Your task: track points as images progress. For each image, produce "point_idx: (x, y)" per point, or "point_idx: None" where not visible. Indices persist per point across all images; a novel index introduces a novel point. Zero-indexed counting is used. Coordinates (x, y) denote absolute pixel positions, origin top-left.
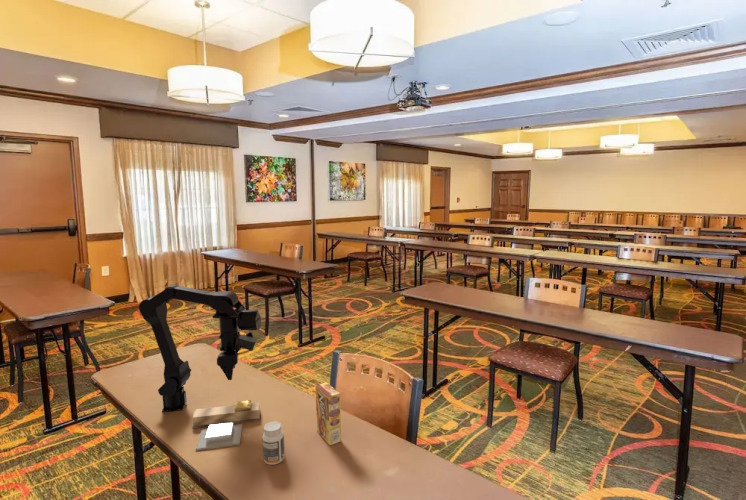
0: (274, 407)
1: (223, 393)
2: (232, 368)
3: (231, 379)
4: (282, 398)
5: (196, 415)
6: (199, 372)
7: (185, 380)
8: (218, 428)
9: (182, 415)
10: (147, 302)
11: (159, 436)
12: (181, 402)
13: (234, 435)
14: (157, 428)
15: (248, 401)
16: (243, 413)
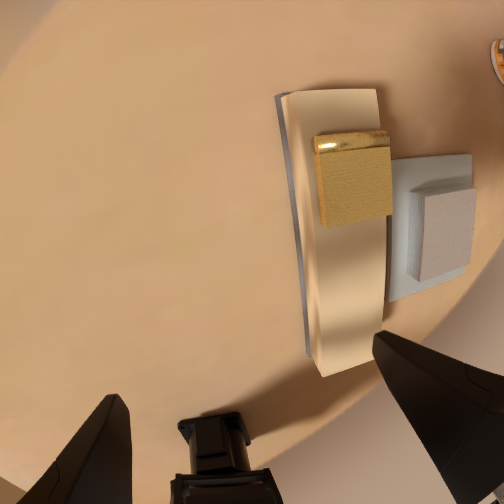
0: (236, 34)
1: (97, 333)
2: (501, 381)
3: (386, 332)
4: (140, 16)
5: (367, 353)
6: (10, 423)
7: (234, 494)
8: (444, 241)
9: (273, 396)
10: None
11: (373, 387)
12: (227, 431)
13: (443, 177)
14: (334, 411)
15: (328, 152)
16: None
